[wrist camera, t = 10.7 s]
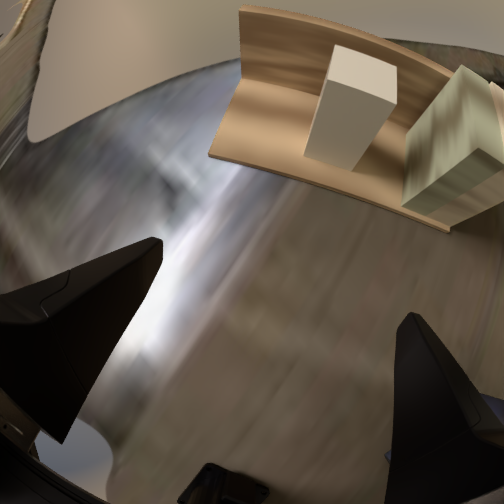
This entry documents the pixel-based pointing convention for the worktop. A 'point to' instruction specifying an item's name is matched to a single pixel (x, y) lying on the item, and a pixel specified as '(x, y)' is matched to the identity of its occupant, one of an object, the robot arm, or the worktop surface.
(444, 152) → the wooden stand
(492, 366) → the worktop surface
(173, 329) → the worktop surface
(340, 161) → the bookend
